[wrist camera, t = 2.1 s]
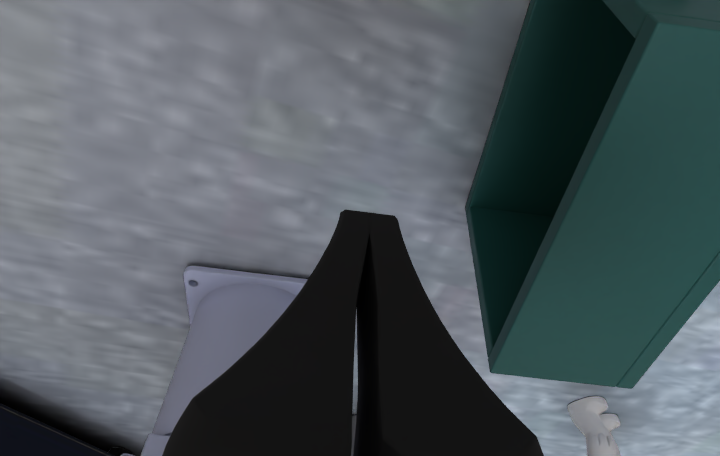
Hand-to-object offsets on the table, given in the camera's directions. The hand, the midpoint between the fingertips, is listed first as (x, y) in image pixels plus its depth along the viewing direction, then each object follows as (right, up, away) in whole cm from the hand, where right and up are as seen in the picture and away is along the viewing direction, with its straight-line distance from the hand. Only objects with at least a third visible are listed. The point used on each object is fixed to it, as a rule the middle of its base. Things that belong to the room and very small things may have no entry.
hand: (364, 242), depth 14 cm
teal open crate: (+8, +5, +8) cm, 12 cm away
